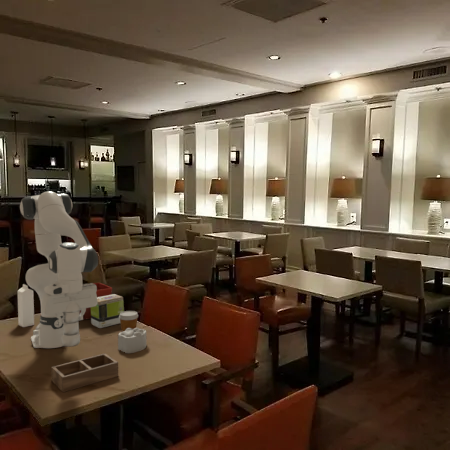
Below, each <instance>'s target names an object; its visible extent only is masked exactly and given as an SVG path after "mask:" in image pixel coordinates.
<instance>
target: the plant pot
mask: <svg viewBox="0 0 450 450" xmlns="http://www.w3.org/2000/svg"><path fill="white" fill-rule="evenodd" d="M92 283H93V284H95V285H96V287H97V291H96V295H97V297H101V296H106V295H112V294H113V287H111V286H108V285H106V284H104V283H101V282H92ZM80 313H81V310H80ZM80 313H79V315H80ZM89 319H90V320H91V307H89V308H86V311H85V313H84V315H83V320H89Z"/></svg>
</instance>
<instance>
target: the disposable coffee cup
mask: <svg viewBox="0 0 450 450" xmlns="http://www.w3.org/2000/svg"><path fill="white" fill-rule="evenodd" d="M119 318H120V323H119V324H120V329H121V332H123V331H125V330H126V329H127V328H131V329H134V328H137V323H138V318H139V314H138V312H137V311H135V310H126V311H125V310H124V312H121V313H120V315H119Z"/></svg>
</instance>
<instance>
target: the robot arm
mask: <svg viewBox="0 0 450 450" xmlns="http://www.w3.org/2000/svg"><path fill="white" fill-rule="evenodd" d="M72 209H73V202H72V198H71V196H70V195H69V194H67V193H56V192H54V191H43V192H42V193H40V194H36V195H27V196H24V197H23V198H22V199H21V201H20V203H19V210H20V214H21V215H22V217H23V218H24V219H26V220H34V235H35V246H36V251H37V253H39V254H40V255H42V256H44V257H45V258H46V259H47V263H42V264H37V265H35V266H32V267H30V268H29V269H28V270H27V271H26V273H25V282H26V285H27V286H28V287H30V289H31V290H33V291H35V292H36V293H37V295H38V298H39V301H40V317H39V323H38V324H37V325H36V326H35V329H34V330H32V335H31V337H30V340H31V343H32V346H33V348H35V349H39V348H41V349H55V348H56V349H57V348H61V347H65V346H64V345H63V344H62V335H63V327H64V319H63V314H62V312H65V311H66V308H67V306H68V305H69V304H70V303H71V302H76V303H77V304H78V305H79V307H80V310H81V313H80V315H79V321H83V320H84V319H83V315H84V313H85V311H86V308H89V307H94V306H96V305H97V295H96V291H97V287H96V285H95V284H93V283H94V282H89V283H83V275H82V273H91V272H93V271H94V270H95V269H96V268H97V267H98V266H99V256H98V253H97V251H96V250H95V249H94V248H93V246H92V244H91V242H90V241H89V239H88V237H87V235H86V234H85V232H84V230H83V228H82V226H81V225H80V223H79V222H78V221H77V220H76V219H74V218H73V217H71V216H70V214H71V213H72ZM61 235H62V236H65V237H69V238H71V239H73V241H74V242H72V241H71V242H66V241H65V242H62V236H61ZM72 296H75V298H76V299H75V300H72V301H70V300H69V297H72Z"/></svg>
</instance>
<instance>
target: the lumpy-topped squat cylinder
mask: <svg viewBox="0 0 450 450" xmlns="http://www.w3.org/2000/svg"><path fill="white" fill-rule="evenodd" d="M146 347H147V330H146V329H143V328H140V327H136V328H134V329H131V328H127V329H126V330H125V331H123V332H122V331H120V332H119V333H118V335H117V350H118V351H120V350H121V352H123V353H124V352H125V354H133V353H137V352H140V351H142V350H145V349H146Z"/></svg>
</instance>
